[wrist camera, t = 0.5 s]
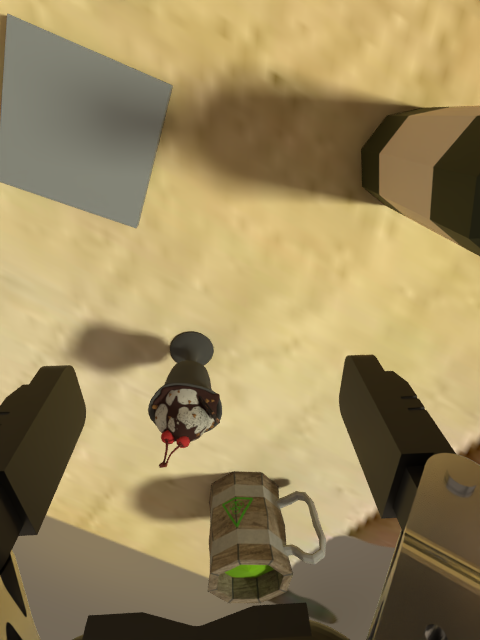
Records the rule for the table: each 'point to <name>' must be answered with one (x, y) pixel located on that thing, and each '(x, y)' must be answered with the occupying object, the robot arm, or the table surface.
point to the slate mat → (78, 124)
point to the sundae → (186, 394)
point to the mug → (253, 538)
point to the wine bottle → (429, 169)
